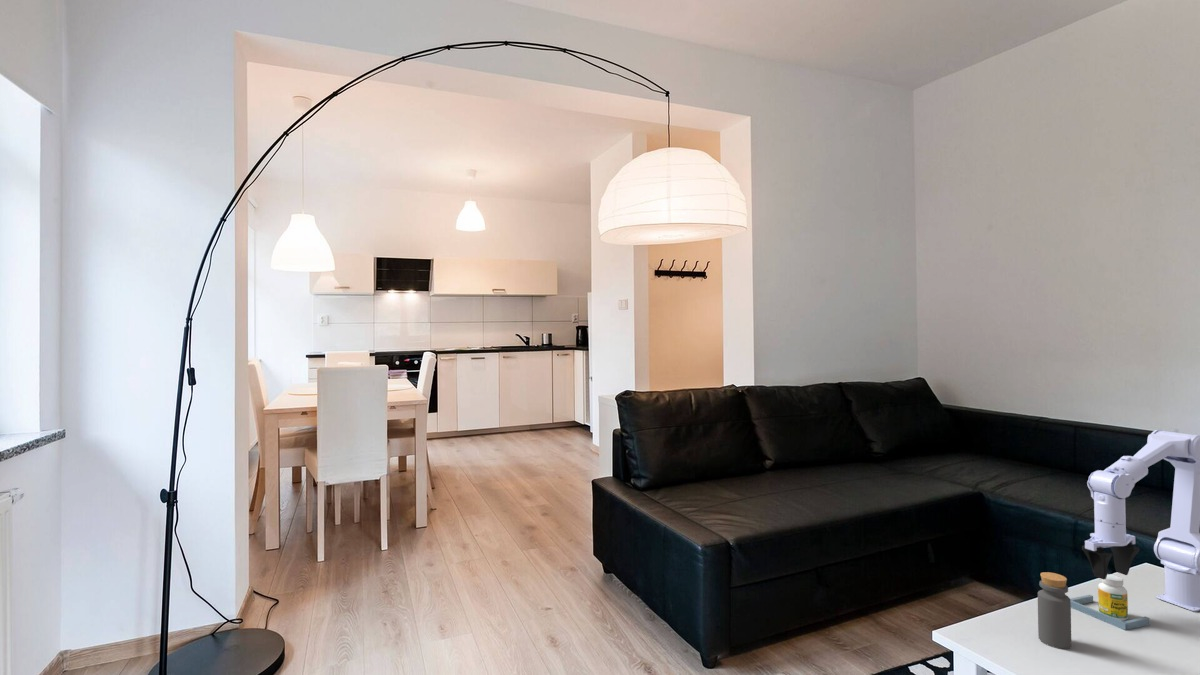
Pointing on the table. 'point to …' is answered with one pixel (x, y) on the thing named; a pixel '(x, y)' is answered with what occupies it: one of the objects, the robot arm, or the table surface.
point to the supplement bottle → (1113, 597)
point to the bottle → (1054, 611)
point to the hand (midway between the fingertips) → (1111, 575)
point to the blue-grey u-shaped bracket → (1125, 625)
